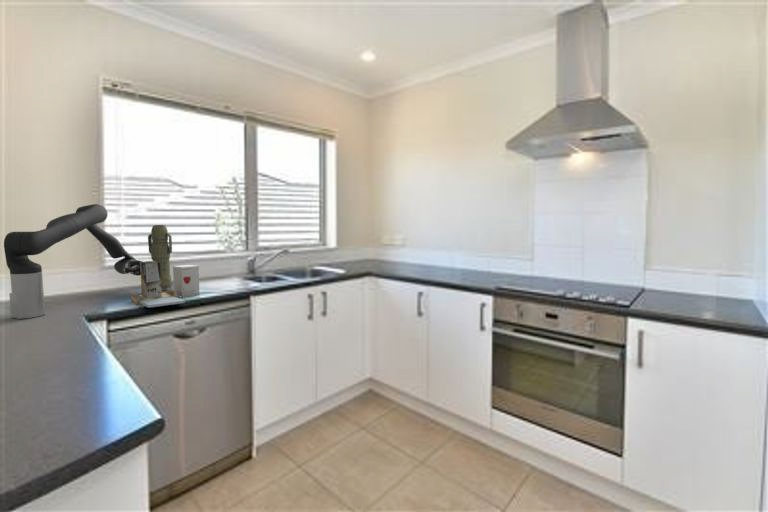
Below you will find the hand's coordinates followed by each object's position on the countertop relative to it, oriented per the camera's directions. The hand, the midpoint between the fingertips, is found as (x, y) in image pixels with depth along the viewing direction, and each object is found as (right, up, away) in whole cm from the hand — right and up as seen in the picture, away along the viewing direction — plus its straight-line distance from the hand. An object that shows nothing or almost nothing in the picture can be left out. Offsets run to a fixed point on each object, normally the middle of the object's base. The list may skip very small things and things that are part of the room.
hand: (146, 270), depth 187 cm
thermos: (-6, -12, +23) cm, 27 cm away
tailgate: (+11, -12, -10) cm, 19 cm away
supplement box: (+14, -13, +10) cm, 22 cm away
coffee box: (+6, -12, -6) cm, 15 cm away
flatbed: (+7, -14, -5) cm, 17 cm away
